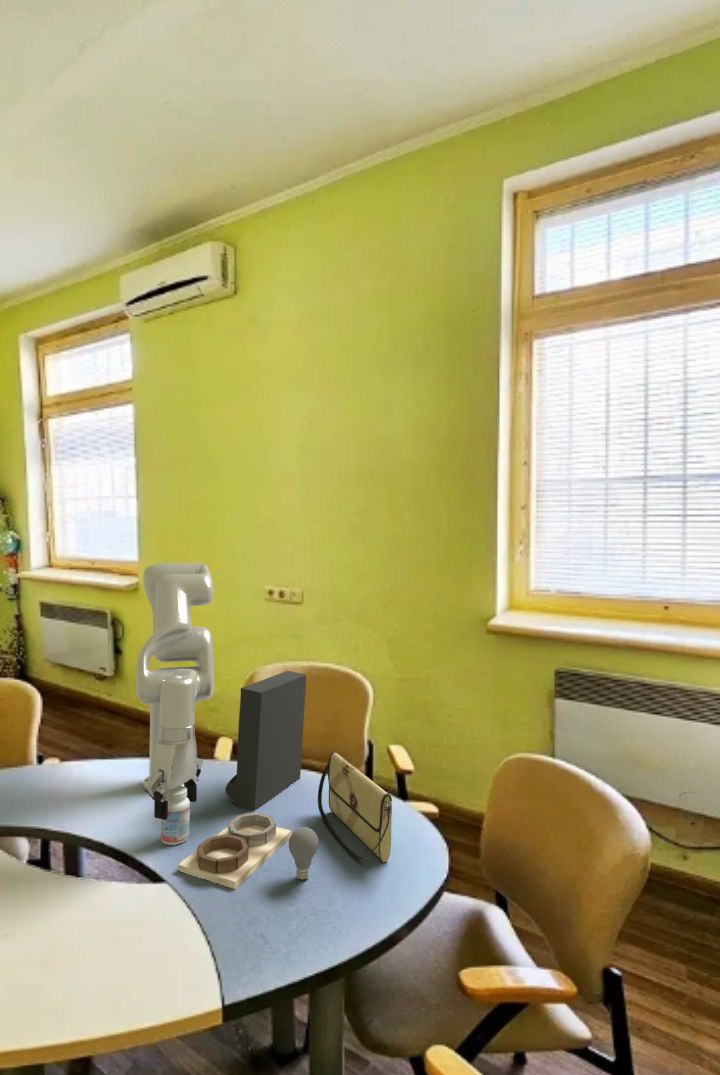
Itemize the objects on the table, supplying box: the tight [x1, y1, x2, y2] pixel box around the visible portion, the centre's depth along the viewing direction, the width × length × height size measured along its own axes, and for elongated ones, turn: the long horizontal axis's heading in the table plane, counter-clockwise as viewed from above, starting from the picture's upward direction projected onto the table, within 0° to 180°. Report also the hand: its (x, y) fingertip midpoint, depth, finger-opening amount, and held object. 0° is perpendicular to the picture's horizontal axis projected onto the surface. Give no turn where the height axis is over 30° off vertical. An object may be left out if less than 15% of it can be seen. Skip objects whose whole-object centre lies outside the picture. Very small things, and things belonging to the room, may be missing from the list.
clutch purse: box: [317, 751, 393, 863], centre depth 139 cm, size 30×7×15 cm, turn 28°
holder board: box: [177, 812, 292, 890], centre depth 131 cm, size 22×14×4 cm, turn 157°
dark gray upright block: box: [224, 670, 307, 812], centre depth 162 cm, size 21×11×30 cm, turn 154°
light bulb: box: [288, 826, 319, 880], centre depth 123 cm, size 6×6×10 cm
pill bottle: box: [160, 786, 191, 846], centre depth 137 cm, size 6×6×11 cm
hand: (176, 809), depth 136 cm, fingers open, 9 cm apart
